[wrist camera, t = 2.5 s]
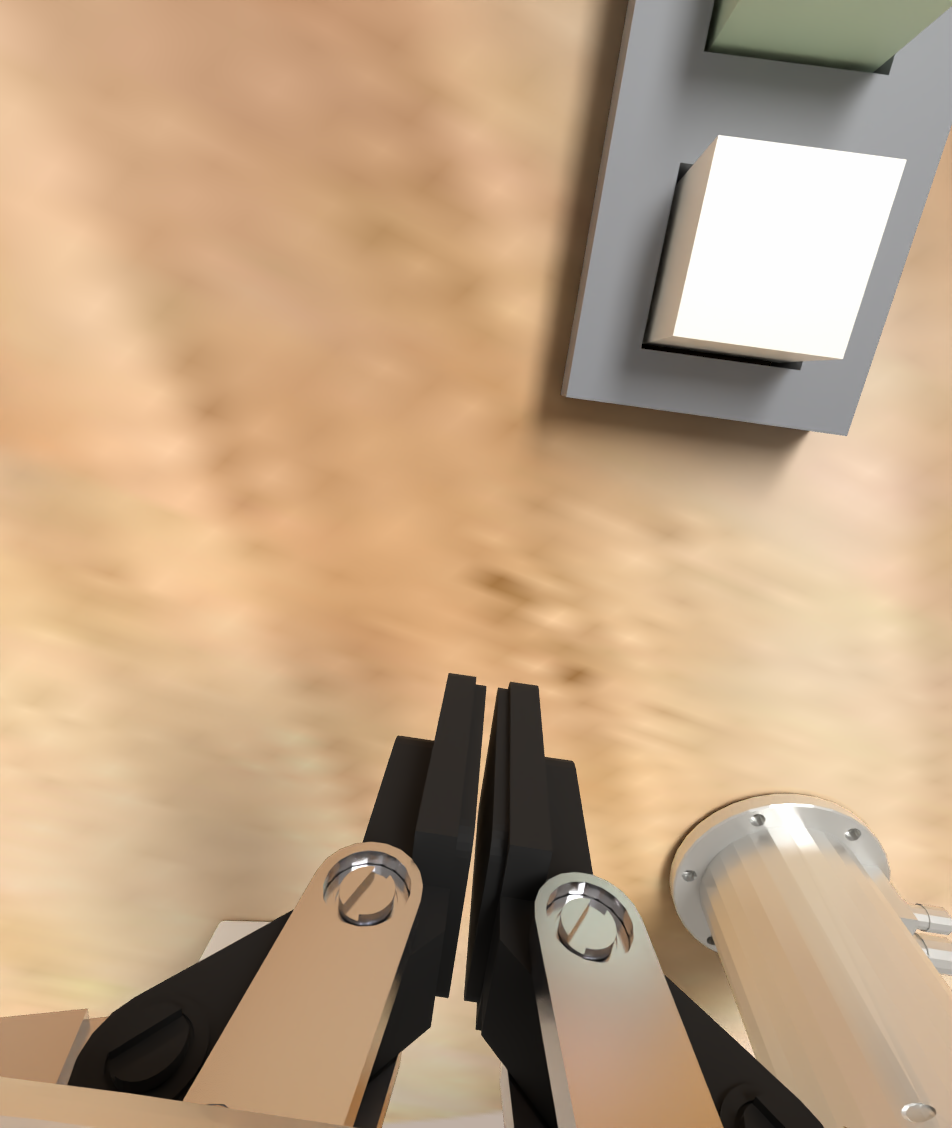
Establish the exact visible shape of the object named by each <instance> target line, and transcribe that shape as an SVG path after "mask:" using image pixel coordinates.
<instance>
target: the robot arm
mask: <svg viewBox="0 0 952 1128" xmlns="http://www.w3.org/2000/svg"><path fill="white" fill-rule="evenodd" d="M485 697H486V686H483V685H476V677H473V676H466V675H459V674H452V673H449V675H448V679H447V684H446V689H445V693H444V698H443V703H442V707H441V712H440V717H439V721H438V726H437V731H436V736H435V740H434V741H432V740H425V739H418V738H411V737H404V736H397V738H396V740H395V743H394V746H393V749H392V752H391V755H390V758H389V762H388V765H387V768H386V771H385V774H384V777H383V780H382V783H381V787H380V790H379V793H378V796H377V799H376V802H375V805H374V808H373V812H372V815H371V818H370V821H369V824H368V827H367V830H366V833H365V836H364V840H363V843H356V844H353V845H350V846H347V847H345V848H342V849H339V850H338V851H337V852H335V853H334V854H332V855H331V856H329V857H328V858H327V859H326V860H325V861H324V862H323V864H322V865H321V866H320V867H319V868H318V870H317V871H316V873H315V874H314V876H313V878H312V880H311V881H310V883H309V885H308V886H307V888H306V890H305V892H304V893H303V895H302V897H301V898H300V900H299V902H298V904H297V905H296V907H295V909H294V910H292V911H290V912H288V913H286V914H285V915H283V916H281V917H279V918H277V919H276V920H274V921H272V922H270V923H268V924H267V925H265V926H263V927H261V928H259V929H257V930H256V931H254V932H252V933H250V934H248V935H247V936H245V937H243V938H241V939H239V940H238V941H236V942H234V943H232V944H230V945H229V946H227V947H225V948H223V949H221V950H220V951H218V952H216V953H214V954H212V955H210V956H209V957H207V958H205V959H203V960H201V961H200V962H198V963H196V964H194V965H192V966H191V967H189V968H187V969H185V970H183V971H182V972H180V973H178V974H176V975H174V976H172V977H171V978H169V979H167V980H165V981H163V982H162V983H160V984H158V985H156V986H154V987H153V988H151V989H149V990H147V991H145V992H144V993H142V994H140V995H138V996H136V997H135V998H133V999H132V1000H130V1001H129V1002H127V1003H126V1004H124V1005H123V1006H122V1007H120V1008H119V1009H117V1010H116V1011H114V1012H113V1013H112V1014H111V1015H110V1016H109V1017H101V1018H91V1019H89V1015H88V1009H80V1010H70V1011H60V1012H50V1013H41V1014H31V1015H21V1016H11V1017H1V1018H0V1128H382V1125H383V1122H384V1118H385V1115H386V1111H387V1108H388V1105H389V1101H390V1098H391V1094H392V1091H393V1087H394V1084H395V1081H396V1077H397V1074H398V1070H399V1067H400V1061H401V1054H402V1051H403V1050H404V1049H405V1048H406V1047H407V1046H409V1045H410V1044H411V1043H412V1042H413V1041H415V1040H416V1039H417V1038H418V1037H419V1036H420V1035H422V1034H423V1033H424V1032H425V1031H426V1030H428V1029H429V1028H430V1027H431V1021H432V1014H433V1007H434V1001H435V996H438V997H445V998H448V997H449V992H450V986H451V980H452V973H453V967H454V961H455V955H456V948H457V942H458V936H459V930H460V923H461V917H462V911H463V904H464V898H465V892H466V886H467V879H468V873H469V867H470V861H471V854H472V847H473V839H474V830H475V820H476V807H477V795H478V783H479V771H480V758H481V746H482V734H483V722H484V709H485ZM669 882H670V889H671V896H672V899H673V902H674V905H675V908H676V912H677V914H678V916H679V918H680V920H681V921H682V923H683V925H684V927H685V928H686V929H687V930H688V931H689V932H690V933H691V935H692V936H693V937H694V938H695V939H696V940H698V941H699V942H700V943H702V944H703V945H704V946H706V947H707V948H709V949H711V950H713V951H715V952H717V953H718V954H719V957H720V960H721V962H722V965H723V968H724V971H725V974H726V976H727V979H728V982H729V985H730V987H731V990H732V993H733V996H734V999H735V1001H736V1004H737V1007H738V1010H739V1013H740V1015H741V1018H742V1021H743V1024H744V1027H745V1029H746V1032H747V1035H748V1038H749V1041H750V1043H751V1046H752V1049H753V1052H754V1055H755V1057H756V1059H755V1058H754V1057H753V1056H752V1055H751V1054H750V1053H749V1052H748V1051H746V1050H745V1049H744V1048H743V1047H742V1046H741V1045H740V1044H739V1043H738V1042H737V1041H736V1040H735V1039H733V1038H732V1037H731V1036H730V1035H729V1034H728V1033H727V1032H726V1031H725V1030H724V1029H723V1028H722V1027H720V1026H719V1025H718V1024H717V1023H716V1022H715V1021H714V1020H713V1019H712V1018H711V1017H710V1016H709V1015H707V1014H706V1013H705V1012H704V1011H703V1010H702V1009H701V1008H700V1007H699V1006H698V1005H697V1004H696V1003H694V1002H693V1001H692V1000H691V999H690V998H689V997H688V996H687V995H686V994H685V993H684V992H683V991H681V990H680V989H679V988H678V987H677V986H676V985H675V984H674V983H673V982H672V981H671V980H670V979H669V978H667V977H666V976H665V975H664V974H663V971H662V969H661V966H660V963H659V961H658V958H657V956H656V953H655V951H654V948H653V946H652V943H651V940H650V938H649V935H648V933H647V930H646V928H645V925H644V922H643V920H642V918H641V916H640V914H639V913H638V911H637V909H636V907H635V905H634V904H633V903H632V902H631V901H630V900H629V899H628V897H627V896H626V895H625V894H624V893H623V892H622V891H621V890H619V889H618V888H616V887H615V886H614V885H612V884H611V883H609V882H608V881H606V880H604V879H601V878H599V877H596V876H594V875H593V872H592V866H591V859H590V853H589V847H588V841H587V835H586V829H585V823H584V817H583V810H582V804H581V798H580V792H579V786H578V780H577V774H576V768H575V764H574V762H573V761H569V760H562V759H556V758H549V757H545V756H544V745H543V733H542V722H541V710H540V699H539V688H538V686H535V685H529V684H522V683H515V682H510V683H509V687H508V689H503V688H498V691H497V696H496V703H495V709H494V715H493V721H492V728H491V734H490V740H489V746H488V753H487V759H486V765H485V772H484V778H483V784H482V790H481V797H480V803H479V811H478V821H477V834H476V847H475V860H474V873H473V886H472V899H471V912H470V925H469V938H468V951H467V964H466V977H465V990H464V1001H471V1002H477V1014H476V1030H481V1035H482V1037H483V1038H484V1039H485V1041H486V1042H487V1043H488V1045H489V1046H490V1047H491V1049H492V1050H493V1051H494V1053H495V1054H496V1055H497V1057H498V1058H499V1059H500V1061H501V1062H500V1089H501V1099H502V1109H503V1118H504V1127H505V1128H952V990H951V989H950V987H949V986H948V985H947V983H946V982H945V980H944V979H943V978H942V976H941V975H940V974H942V975H948V976H952V942H950V941H949V940H948V939H947V938H945V937H941V936H936V935H929V934H923V933H916V932H915V931H916V929H920V930H921V931H925V932H932V933H938V934H945V935H949V934H950V933H951V932H952V919H951V917H950V915H949V913H948V912H947V911H946V910H945V909H944V908H942V907H936V906H929V905H923V904H915V905H914V904H908V903H907V902H906V901H905V900H904V899H903V898H901V896H900V895H899V894H898V892H897V891H896V890H895V888H894V887H893V886H892V884H891V883H890V866H889V862H888V858H887V854H886V853H885V851H884V849H883V847H882V845H881V844H880V842H879V840H878V839H877V838H876V836H875V835H874V834H873V833H872V831H871V830H870V829H869V828H868V826H867V825H866V824H865V823H864V822H863V821H862V820H860V819H859V818H858V817H857V816H856V815H855V814H853V813H852V812H851V811H849V810H847V809H845V808H843V807H842V806H840V805H838V804H836V803H834V802H831V801H827V800H824V799H821V798H818V797H814V796H807V795H801V794H771V795H764V796H758V797H752V798H749V799H746V800H743V801H739V802H736V803H733V804H731V805H729V806H727V807H725V808H723V809H721V810H719V811H717V812H715V813H713V814H712V815H710V816H709V817H708V818H706V819H705V820H703V821H702V822H701V823H699V824H698V825H697V826H696V827H695V828H694V829H693V830H692V831H691V832H690V833H689V834H688V835H687V836H686V838H685V839H684V841H683V842H682V844H681V845H680V847H679V848H678V850H677V852H676V854H675V857H674V860H673V862H672V865H671V871H670V879H669Z"/></svg>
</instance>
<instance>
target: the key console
mask: <svg viewBox="0 0 952 1128" xmlns="http://www.w3.org/2000/svg"><path fill="white" fill-rule="evenodd" d="M713 5H714V0H628V6H627V12H626V17H625V23H624V29H623V35H622V41H621V46H620V52H619V58H618V64H617V70H616V75H615V81H614V87H613V93H612V99H611V105H610V110H609V116H608V122H607V128H606V134H605V139H604V145H603V151H602V157H601V163H600V168H599V174H598V180H597V186H596V192H595V197H594V203H593V209H592V215H591V221H590V226H589V232H588V238H587V244H586V250H585V255H584V261H583V267H582V273H581V279H580V285H579V290H578V296H577V302H576V308H575V314H574V319H573V325H572V331H571V337H570V343H569V348H568V354H567V360H566V366H565V372H564V377H563V383H562V389H561V395H562V396H565V397H570V398H577V399H584V400H592V401H599V402H606V403H613V404H620V405H628V406H635V407H642V408H649V409H656V410H664V411H671V412H678V413H685V414H692V415H699V416H707V417H714V418H721V419H728V420H735V421H743V422H750V423H757V424H764V425H771V426H779V427H786V428H793V429H800V430H807V431H815V432H822V433H829V434H836V435H843V436H847V434H848V431H849V428H850V425H851V422H852V419H853V416H854V413H855V410H856V407H857V404H858V401H859V398H860V396H861V393H862V390H863V387H864V384H865V381H866V378H867V375H868V372H869V369H870V366H871V363H872V360H873V357H874V354H875V351H876V348H877V345H878V342H879V339H880V336H881V333H882V330H883V327H884V324H885V321H886V318H887V315H888V312H889V309H890V306H891V304H892V301H893V298H894V295H895V292H896V289H897V286H898V283H899V280H900V277H901V274H902V271H903V268H904V265H905V262H906V259H907V256H908V253H909V250H910V247H911V244H912V241H913V238H914V235H915V232H916V229H917V226H918V223H919V220H920V217H921V215H922V212H923V209H924V206H925V203H926V200H927V197H928V194H929V191H930V188H931V185H932V182H933V179H934V176H935V173H936V170H937V167H938V164H939V161H940V158H941V155H942V152H943V149H944V146H945V143H946V140H947V137H948V134H949V131H950V128H951V125H952V6H951V7H950V8H949V9H948V10H947V11H945V12H944V13H943V14H942V15H941V16H939V17H938V18H937V19H936V20H935V21H934V22H932V23H931V24H930V25H929V26H928V27H926V28H925V29H924V30H923V31H922V32H921V33H919V34H918V35H917V36H916V37H915V38H913V39H912V40H911V41H910V42H909V43H907V44H906V45H905V46H904V47H903V48H902V49H900V50H899V51H898V52H897V53H896V54H894V55H893V56H892V57H891V58H890V59H889V60H887V61H886V62H885V63H884V64H883V65H881V66H880V67H879V68H878V69H877V70H876V71H874V72H873V73H868V72H860V71H852V70H844V69H837V68H829V67H821V66H813V65H806V64H798V63H790V62H782V61H775V60H767V59H759V58H751V57H743V56H736V55H728V54H720V53H712V52H705V51H704V48H705V43H706V38H707V34H708V29H709V24H710V19H711V15H712V10H713ZM718 135H722V136H730V137H738V138H745V139H753V140H760V141H768V142H776V143H783V144H791V145H799V146H806V147H814V148H821V149H829V150H837V151H844V152H852V153H860V154H867V155H875V156H883V157H890V158H898V159H905V160H907V161H906V164H905V167H904V170H903V173H902V176H901V179H900V183H899V186H898V189H897V192H896V195H895V198H894V201H893V204H892V207H891V211H890V214H889V217H888V220H887V223H886V226H885V229H884V232H883V236H882V239H881V242H880V245H879V248H878V251H877V254H876V257H875V260H874V264H873V267H872V270H871V273H870V276H869V279H868V282H867V285H866V288H865V292H864V295H863V298H862V301H861V304H860V307H859V310H858V313H857V317H856V320H855V323H854V326H853V329H852V332H851V335H850V338H849V341H848V345H847V348H846V351H845V354H844V357H843V359H836V360H818V361H800V362H782V363H778V362H771V365H770V366H765V365H757V364H750V363H743V362H735V361H728V360H721V359H714V358H706V357H699V356H692V355H684V354H677V353H670V352H663V351H655V350H648V349H641V346H642V342H643V337H644V332H645V327H646V323H647V318H648V313H649V308H650V304H651V299H652V294H653V289H654V285H655V280H656V275H657V271H658V266H659V261H660V256H661V252H662V247H663V242H664V237H665V233H666V228H667V223H668V218H669V214H670V209H671V204H672V199H673V195H674V190H675V185H676V184H677V183H678V182H679V181H680V180H681V178H682V177H683V176H684V175H685V174H686V172H687V171H688V170H689V169H690V168H691V167H692V165H693V164H694V163H695V162H696V161H697V160H698V158H699V157H700V156H701V155H702V154H703V153H704V151H705V150H706V149H707V148H708V147H709V145H710V144H711V143H712V142H713V141H714V140H715V138H716V137H717V136H718Z"/></svg>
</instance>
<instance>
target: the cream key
mask: <svg viewBox="0 0 952 1128" xmlns="http://www.w3.org/2000/svg"><path fill="white" fill-rule="evenodd" d="M906 161H907V160H905V159H898V158H890V157H883V156H875V155H867V154H860V153H852V152H844V151H837V150H829V149H821V148H814V147H806V146H799V145H791V144H783V143H776V142H768V141H760V140H753V139H745V138H738V137H730V136H722V135H718V136H717V137H716V138H715V140H714V141H713V142H712V143H711V144H710V145H709V147H708V148H707V149H706V150H705V151H704V153H703V154H702V155H701V156H700V157H699V158H698V160H697V161H696V162H695V163H694V164H693V165H692V167H691V168H690V169H689V170H688V171H687V172H686V174H685V175H684V176H683V177H682V178H681V180H680V181H679V182H678V183H677V184H676V185H675V190H674V195H673V199H672V204H671V209H670V214H669V218H668V223H667V228H666V233H665V237H664V242H663V247H662V252H661V256H660V261H659V266H658V271H657V275H656V280H655V285H654V289H653V294H652V299H651V304H650V308H649V313H648V318H647V323H646V327H645V332H644V337H643V342H642V344H647V345H654V346H661V347H668V348H676V349H683V350H690V351H698V352H705V353H712V354H719V355H727V356H734V357H741V358H749V359H756V360H763V361H770V362H778V363H782V362H800V361H818V360H836V359H843V357H844V354H845V351H846V348H847V345H848V341H849V338H850V335H851V332H852V329H853V326H854V323H855V320H856V317H857V313H858V310H859V307H860V304H861V301H862V298H863V295H864V292H865V288H866V285H867V282H868V279H869V276H870V273H871V270H872V267H873V264H874V260H875V257H876V254H877V251H878V248H879V245H880V242H881V239H882V236H883V232H884V229H885V226H886V223H887V220H888V217H889V214H890V211H891V207H892V204H893V201H894V198H895V195H896V192H897V189H898V186H899V183H900V179H901V176H902V173H903V170H904V167H905V164H906Z"/></svg>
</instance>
